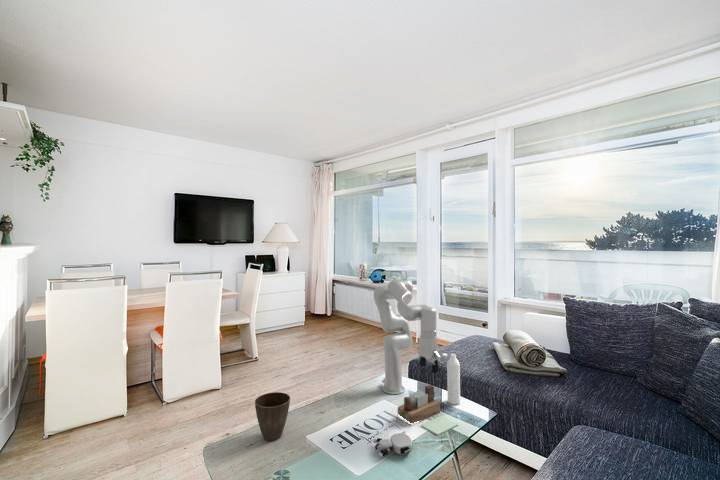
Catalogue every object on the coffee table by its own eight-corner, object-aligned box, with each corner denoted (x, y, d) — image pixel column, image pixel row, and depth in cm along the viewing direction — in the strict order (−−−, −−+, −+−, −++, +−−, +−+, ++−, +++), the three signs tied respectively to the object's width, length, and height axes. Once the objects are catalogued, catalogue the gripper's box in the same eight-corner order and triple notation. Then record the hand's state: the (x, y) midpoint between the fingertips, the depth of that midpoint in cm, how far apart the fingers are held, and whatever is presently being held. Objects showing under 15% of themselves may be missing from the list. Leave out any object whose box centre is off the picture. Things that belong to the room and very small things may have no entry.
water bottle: (458, 399, 182) (458, 352, 182) (461, 404, 175) (460, 356, 176) (442, 399, 182) (441, 352, 183) (444, 404, 176) (443, 355, 176)
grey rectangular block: (410, 404, 165) (410, 394, 165) (420, 400, 169) (420, 390, 169) (417, 408, 161) (417, 398, 161) (427, 404, 165) (427, 394, 165)
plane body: (397, 417, 162) (397, 392, 163) (426, 406, 174) (426, 382, 175) (411, 425, 155) (410, 398, 156) (440, 412, 167) (439, 388, 167)
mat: (420, 426, 155) (420, 424, 155) (440, 416, 163) (440, 415, 163) (437, 435, 147) (437, 434, 147) (458, 425, 155) (458, 424, 155)
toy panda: (379, 464, 129) (416, 457, 131) (378, 452, 129) (415, 445, 131) (372, 446, 141) (407, 440, 143) (371, 435, 141) (406, 429, 143)
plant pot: (271, 424, 157) (271, 389, 158) (297, 432, 150) (297, 395, 151) (247, 440, 144) (247, 402, 144) (274, 450, 137) (274, 410, 137)
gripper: (412, 330, 170) (412, 364, 170) (432, 338, 155) (433, 376, 154) (424, 328, 173) (424, 362, 173) (446, 336, 158) (446, 374, 157)
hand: (428, 369), depth 164 cm, fingers open, 9 cm apart
